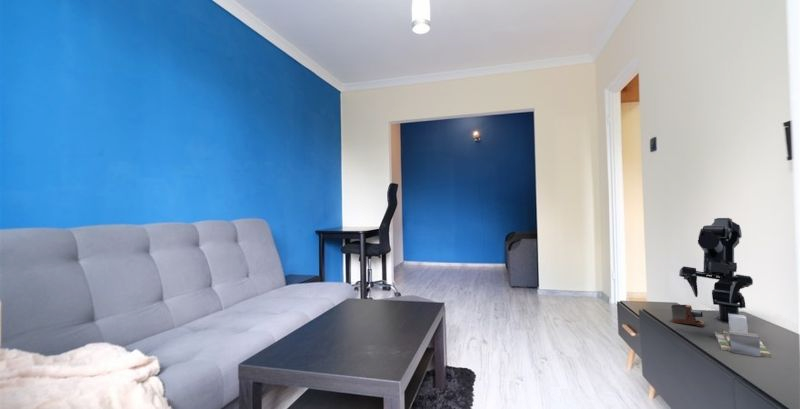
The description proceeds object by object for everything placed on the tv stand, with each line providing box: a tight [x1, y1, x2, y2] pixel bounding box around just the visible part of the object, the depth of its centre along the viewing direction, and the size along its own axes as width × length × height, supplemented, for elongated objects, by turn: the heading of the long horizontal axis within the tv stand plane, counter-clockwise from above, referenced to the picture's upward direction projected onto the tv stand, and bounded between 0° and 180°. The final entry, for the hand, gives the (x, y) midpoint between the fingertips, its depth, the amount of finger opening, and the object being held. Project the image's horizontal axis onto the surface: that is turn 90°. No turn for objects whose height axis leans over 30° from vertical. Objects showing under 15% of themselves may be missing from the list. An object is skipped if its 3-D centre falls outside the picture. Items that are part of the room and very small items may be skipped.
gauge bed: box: [714, 328, 772, 358], centre depth 112 cm, size 17×11×6 cm, turn 142°
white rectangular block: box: [715, 313, 749, 334], centre depth 115 cm, size 4×8×8 cm, turn 52°
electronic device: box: [671, 304, 705, 328], centre depth 134 cm, size 4×10×8 cm, turn 44°
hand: (713, 300), depth 118 cm, fingers open, 9 cm apart
